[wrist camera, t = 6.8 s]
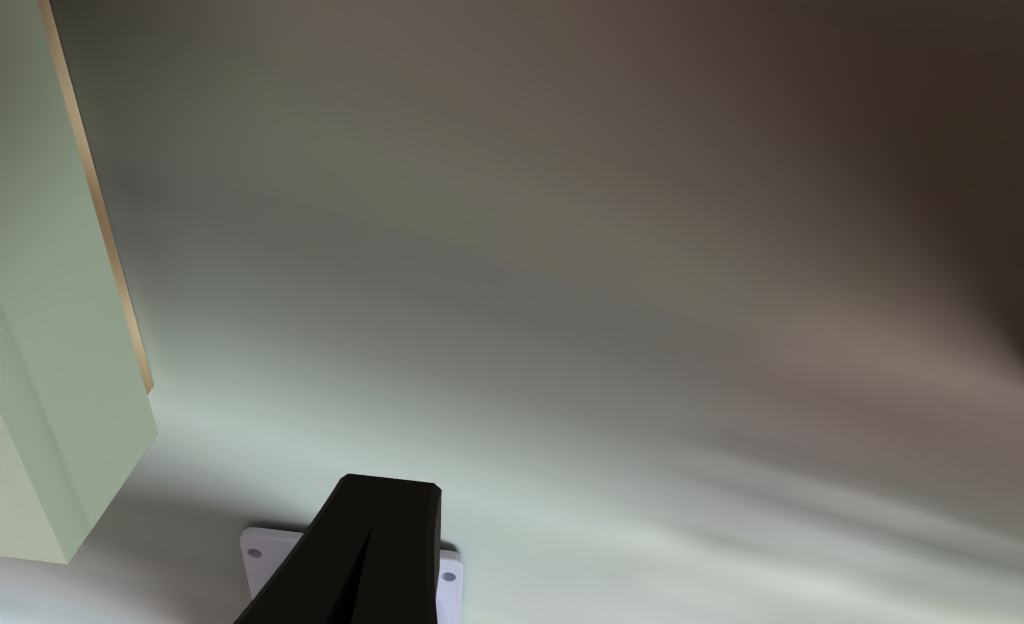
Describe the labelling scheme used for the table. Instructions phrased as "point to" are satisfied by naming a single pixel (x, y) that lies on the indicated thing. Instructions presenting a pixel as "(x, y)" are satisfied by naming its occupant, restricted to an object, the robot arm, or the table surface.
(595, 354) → the table surface
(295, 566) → the robot arm
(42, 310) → the lid
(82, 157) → the box
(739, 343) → the table surface
